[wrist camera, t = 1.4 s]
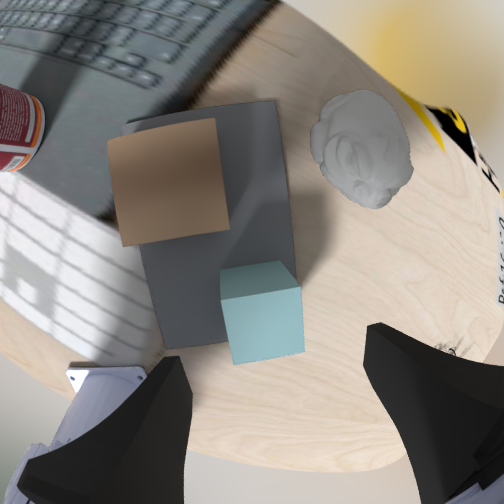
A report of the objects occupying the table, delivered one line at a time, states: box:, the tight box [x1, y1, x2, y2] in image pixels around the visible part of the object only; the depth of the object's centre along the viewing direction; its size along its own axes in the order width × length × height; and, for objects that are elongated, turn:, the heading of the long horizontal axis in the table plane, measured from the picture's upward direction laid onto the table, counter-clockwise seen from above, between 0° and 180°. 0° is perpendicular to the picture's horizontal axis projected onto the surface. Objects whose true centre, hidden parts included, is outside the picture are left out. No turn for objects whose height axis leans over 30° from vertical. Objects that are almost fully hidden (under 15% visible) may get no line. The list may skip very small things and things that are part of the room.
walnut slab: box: [107, 118, 230, 247], centre depth 15 cm, size 6×6×3 cm
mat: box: [122, 101, 296, 349], centre depth 18 cm, size 16×10×1 cm, turn 7°
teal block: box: [220, 260, 305, 365], centre depth 16 cm, size 4×4×5 cm
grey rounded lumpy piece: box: [310, 89, 414, 209], centre depth 14 cm, size 6×7×7 cm
